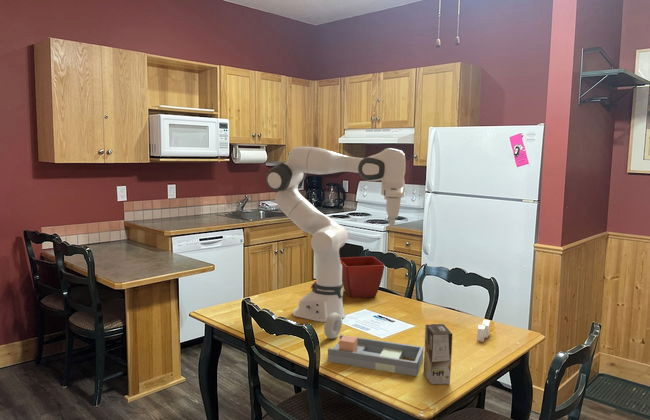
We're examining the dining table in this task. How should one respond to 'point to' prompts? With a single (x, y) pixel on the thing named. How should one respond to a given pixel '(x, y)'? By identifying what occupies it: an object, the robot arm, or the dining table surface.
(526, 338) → the dining table surface
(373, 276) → the plant pot
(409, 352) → the tray
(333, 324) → the grey wheel
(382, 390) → the dining table surface
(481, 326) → the napkin holder
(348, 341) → the block
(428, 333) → the coffee box
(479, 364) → the dining table surface
